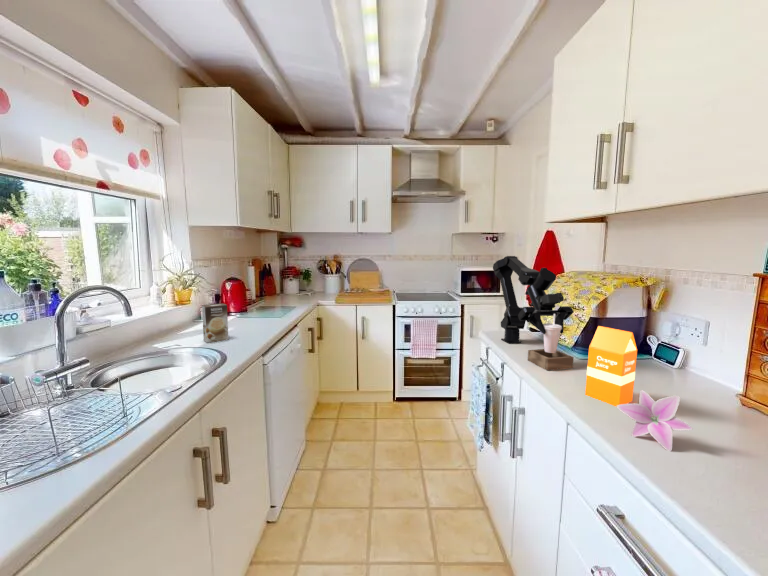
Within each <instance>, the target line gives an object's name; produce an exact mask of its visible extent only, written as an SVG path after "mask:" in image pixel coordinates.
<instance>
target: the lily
mask: <svg viewBox="0 0 768 576" xmlns="http://www.w3.org/2000/svg"><path fill="white" fill-rule="evenodd" d="M638 397H639V399H638V400H639V401H638V402H639V403H627V404H620V405H617V406H615V407H616V408H617V410H619V411H620V412H621V413H623V414H624V415H625V416H627V417H629V418H630V419H632V420H634V421H635V423H634V424H633V427H632V430H631V437H633V438H635V437H641V436H646V435H648V434H650V435H651V437H653V439H654V440H656V442H658V444H659V445H660V446H662V448H664V449H665V450H666V451H668V452H672V449H673V431H692V430H693V429H694V428H693V427H692V426H691V424H689V423H687V422H685V421H684V420H682V419H680V418H678V417H677V416H675V415H676V414H677V410H678V408H679V405H680V401H681V397H680V395H677V394H676V395H670V396H666V397H663V398H660V399H657V400H656V401H655V400H654V399H653V398H652V397H651V396H650V394H649V393H647V392H646V391H645V390H643V389H641V390H639V396H638Z"/></svg>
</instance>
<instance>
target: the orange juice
mask: <svg viewBox="0 0 768 576" xmlns="http://www.w3.org/2000/svg"><path fill="white" fill-rule="evenodd" d="M587 356H588V357H587V366H586V379H585V380H586V381H585V390H584V391H585V394H584V396H587V397H589V396H590V398H593V399H595V400H597V399H598V400H597V401H600V400H601V401H600V402H603V403H605V402H606V404H609V405H612V406H613V407H616V406H617V405H620V404H630V403H632V402H633V397H634V387H635V379H636V367H637V356H638V348H637V344H636V340H635V336H634V333H633V332H632V331H628V330H623V329H617V328H612V327H608V326H602V325H598V326H597V328H596V330H595V333H594V335H593V338H592V340H591V342H590V344H589V347H588V355H587Z"/></svg>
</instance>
